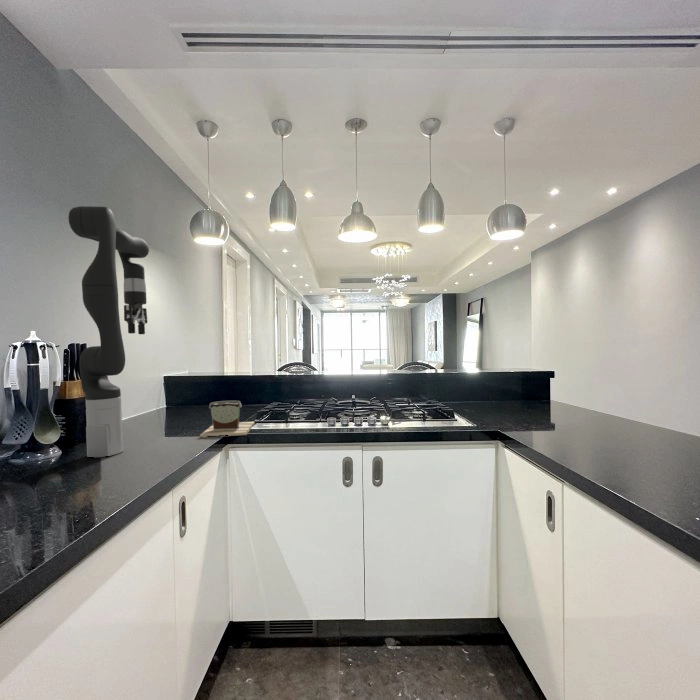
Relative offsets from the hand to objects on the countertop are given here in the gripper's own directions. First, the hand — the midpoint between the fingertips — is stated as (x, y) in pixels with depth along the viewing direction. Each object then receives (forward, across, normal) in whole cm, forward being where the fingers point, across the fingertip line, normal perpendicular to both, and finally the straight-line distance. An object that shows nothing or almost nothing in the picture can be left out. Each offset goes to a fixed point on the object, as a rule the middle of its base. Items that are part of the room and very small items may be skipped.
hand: (136, 333), depth 150 cm
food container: (+37, -5, -34) cm, 51 cm away
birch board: (+38, -5, -34) cm, 51 cm away
